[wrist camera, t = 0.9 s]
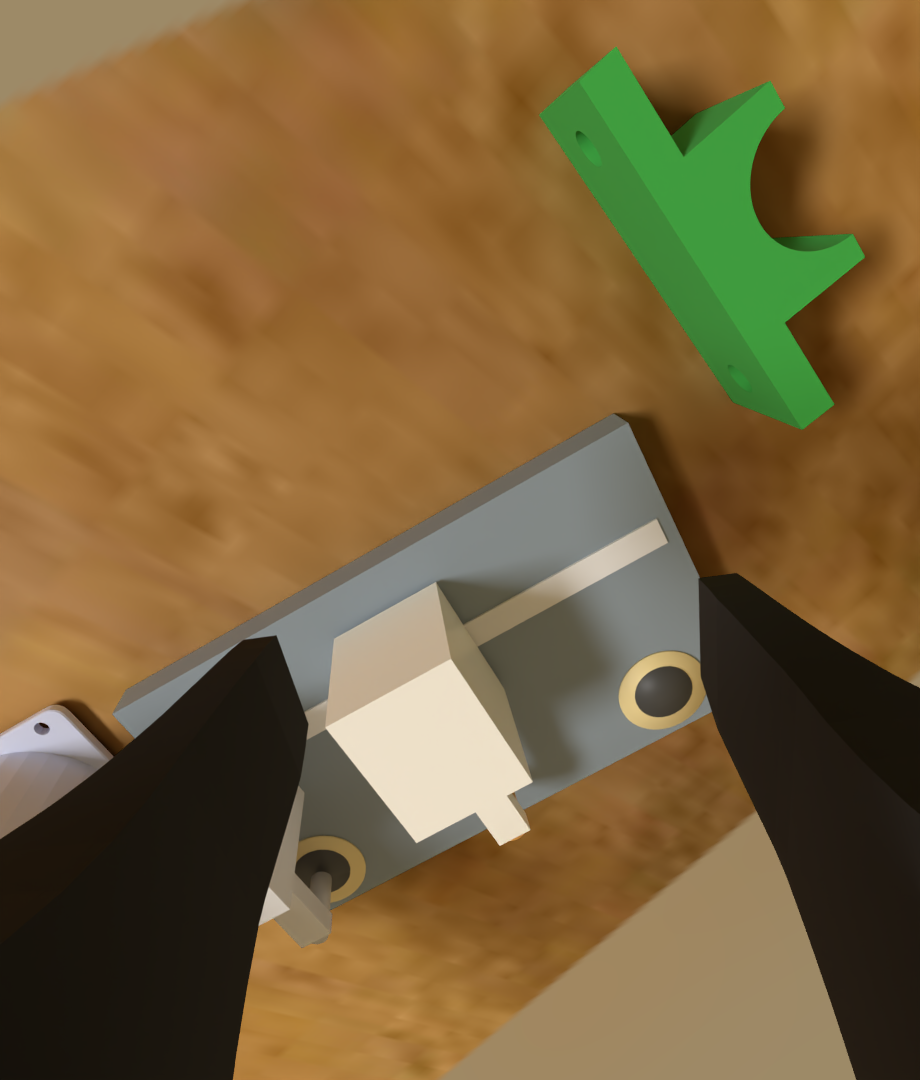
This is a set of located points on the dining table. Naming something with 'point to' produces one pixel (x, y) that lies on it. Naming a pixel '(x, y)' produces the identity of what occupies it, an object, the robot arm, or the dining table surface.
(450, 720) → the block
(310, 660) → the plate
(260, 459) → the dining table surface
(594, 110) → the pipe clamp
